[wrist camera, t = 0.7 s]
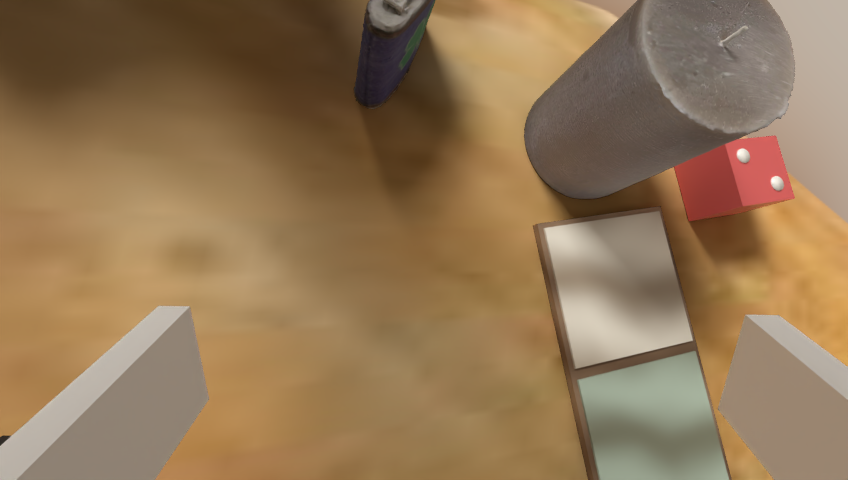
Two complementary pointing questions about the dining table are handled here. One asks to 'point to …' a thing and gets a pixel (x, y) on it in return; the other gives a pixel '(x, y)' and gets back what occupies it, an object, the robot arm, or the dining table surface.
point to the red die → (734, 178)
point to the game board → (629, 349)
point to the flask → (388, 47)
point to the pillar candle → (660, 93)
